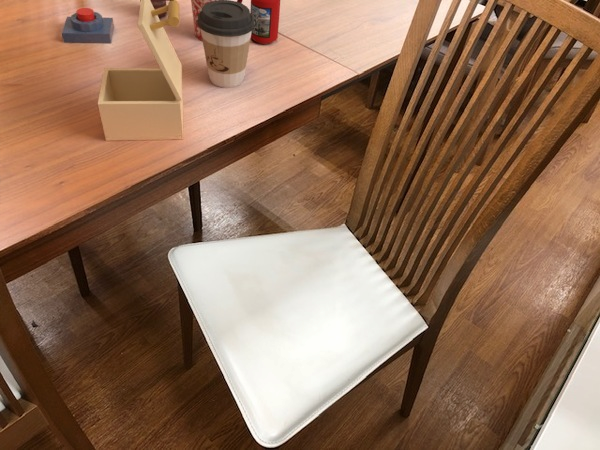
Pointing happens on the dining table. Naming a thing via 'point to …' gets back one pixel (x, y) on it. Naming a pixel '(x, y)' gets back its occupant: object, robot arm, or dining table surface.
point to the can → (159, 6)
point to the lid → (162, 41)
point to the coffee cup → (226, 40)
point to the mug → (197, 3)
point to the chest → (139, 105)
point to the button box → (88, 30)
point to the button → (85, 14)
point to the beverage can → (265, 20)
